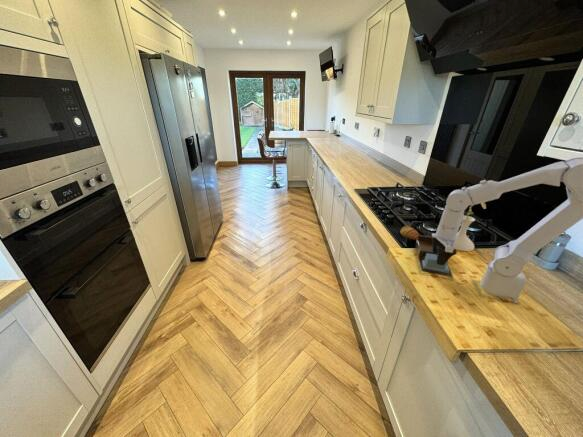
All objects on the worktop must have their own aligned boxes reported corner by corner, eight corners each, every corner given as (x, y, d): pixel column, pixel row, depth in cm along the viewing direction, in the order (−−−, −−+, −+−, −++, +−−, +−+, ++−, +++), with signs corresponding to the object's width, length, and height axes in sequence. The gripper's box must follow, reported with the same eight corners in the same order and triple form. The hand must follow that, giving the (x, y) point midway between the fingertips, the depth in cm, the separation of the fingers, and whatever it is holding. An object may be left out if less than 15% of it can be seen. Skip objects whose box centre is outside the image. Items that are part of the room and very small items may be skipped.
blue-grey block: (445, 266, 87) (449, 256, 85) (448, 273, 84) (452, 263, 82) (422, 262, 90) (425, 252, 88) (423, 268, 86) (426, 258, 84)
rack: (440, 252, 98) (445, 239, 95) (452, 279, 82) (457, 265, 80) (414, 247, 101) (418, 234, 98) (420, 273, 85) (425, 259, 82)
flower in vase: (468, 257, 94) (492, 199, 83) (437, 245, 102) (456, 191, 91) (477, 246, 102) (500, 191, 91) (448, 235, 110) (466, 184, 99)
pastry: (424, 241, 106) (426, 233, 104) (412, 243, 104) (414, 236, 102) (408, 231, 114) (410, 224, 112) (397, 233, 112) (399, 226, 110)
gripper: (432, 214, 86) (422, 245, 92) (440, 233, 74) (429, 267, 80) (454, 217, 84) (442, 249, 90) (466, 237, 72) (452, 272, 78)
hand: (437, 258), depth 85 cm, fingers open, 7 cm apart
